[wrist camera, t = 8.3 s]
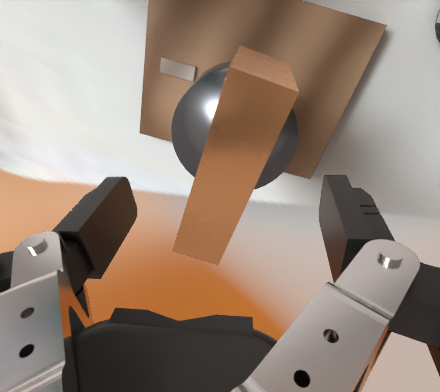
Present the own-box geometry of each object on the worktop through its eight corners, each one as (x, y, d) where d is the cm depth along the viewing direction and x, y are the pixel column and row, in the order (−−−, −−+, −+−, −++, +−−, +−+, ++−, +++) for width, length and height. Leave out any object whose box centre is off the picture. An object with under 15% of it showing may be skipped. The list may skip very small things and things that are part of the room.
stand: (380, 23, 22) (441, 37, 15) (308, 171, 31) (323, 230, 23) (157, -41, 22) (99, -62, 14) (144, 127, 30) (103, 172, 22)
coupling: (203, 22, 15) (159, 40, 9) (322, 67, 16) (363, 115, 9) (169, 167, 21) (126, 243, 14) (259, 196, 21) (257, 284, 15)
